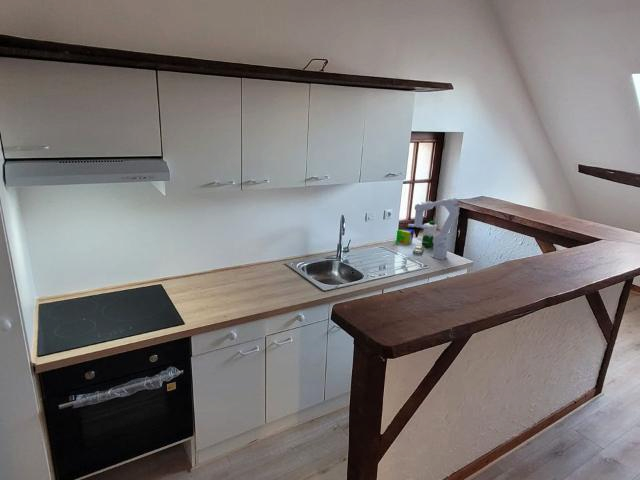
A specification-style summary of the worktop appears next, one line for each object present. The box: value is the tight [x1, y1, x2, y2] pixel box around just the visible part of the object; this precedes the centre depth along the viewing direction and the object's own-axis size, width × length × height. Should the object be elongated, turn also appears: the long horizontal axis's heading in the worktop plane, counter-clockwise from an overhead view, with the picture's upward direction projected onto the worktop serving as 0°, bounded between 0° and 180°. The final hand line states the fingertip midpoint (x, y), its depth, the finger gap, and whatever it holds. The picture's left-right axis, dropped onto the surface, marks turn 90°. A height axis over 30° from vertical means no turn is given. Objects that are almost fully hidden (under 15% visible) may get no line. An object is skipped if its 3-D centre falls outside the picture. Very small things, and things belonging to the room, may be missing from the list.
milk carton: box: [421, 220, 438, 249], centre depth 320 cm, size 9×9×20 cm
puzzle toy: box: [395, 227, 415, 245], centre depth 330 cm, size 10×10×10 cm
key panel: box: [412, 244, 425, 256], centre depth 310 cm, size 17×6×2 cm, turn 161°
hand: (416, 237), depth 309 cm, fingers closed
